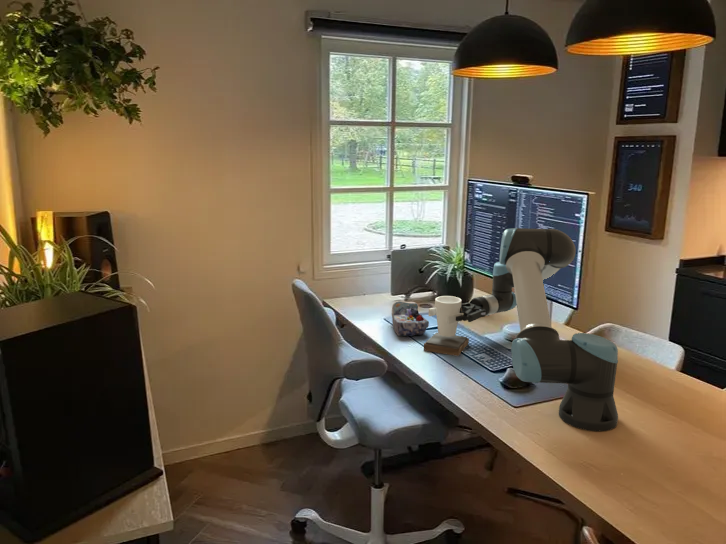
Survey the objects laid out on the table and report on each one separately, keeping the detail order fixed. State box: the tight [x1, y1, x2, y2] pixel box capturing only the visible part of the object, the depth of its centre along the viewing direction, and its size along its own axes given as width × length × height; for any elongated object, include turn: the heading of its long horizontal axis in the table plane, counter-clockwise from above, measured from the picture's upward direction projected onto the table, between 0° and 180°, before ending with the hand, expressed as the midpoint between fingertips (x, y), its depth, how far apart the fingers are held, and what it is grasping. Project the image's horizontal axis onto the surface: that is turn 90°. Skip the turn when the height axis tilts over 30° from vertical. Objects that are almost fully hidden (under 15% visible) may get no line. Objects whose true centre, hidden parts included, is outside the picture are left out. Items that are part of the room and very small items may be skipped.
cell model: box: [391, 300, 430, 337], centre depth 229 cm, size 13×11×20 cm
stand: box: [423, 331, 470, 357], centre depth 211 cm, size 13×13×3 cm
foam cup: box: [434, 295, 462, 337], centre depth 209 cm, size 10×9×13 cm
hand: (438, 316), depth 206 cm, fingers closed on foam cup, 9 cm apart
